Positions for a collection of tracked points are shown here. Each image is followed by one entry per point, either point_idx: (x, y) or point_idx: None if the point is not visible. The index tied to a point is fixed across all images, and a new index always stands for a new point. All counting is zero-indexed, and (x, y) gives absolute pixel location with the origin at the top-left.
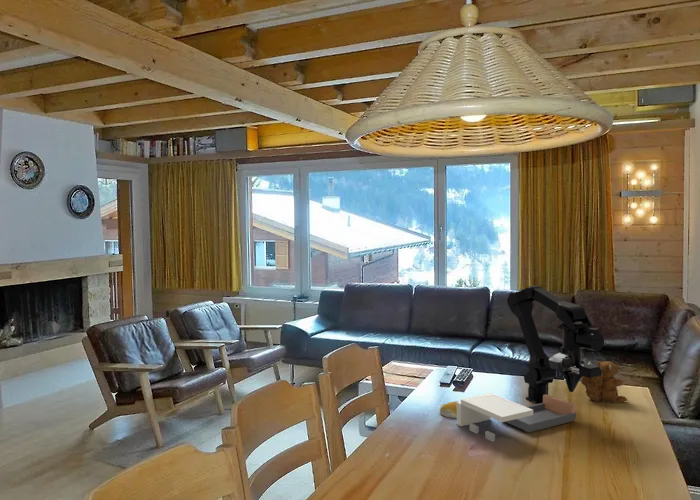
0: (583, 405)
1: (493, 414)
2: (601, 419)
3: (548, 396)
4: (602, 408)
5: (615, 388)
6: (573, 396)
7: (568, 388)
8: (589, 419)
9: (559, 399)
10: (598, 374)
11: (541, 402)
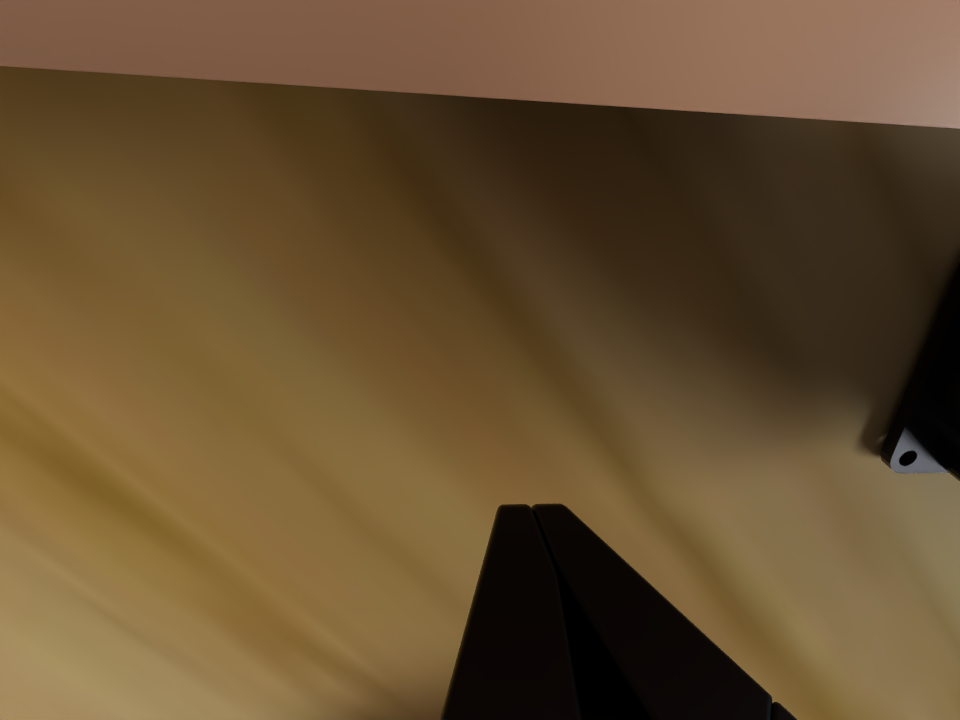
0: None
1: None
2: (92, 454)
3: (878, 19)
4: (380, 692)
5: None
6: None
7: (593, 541)
8: (156, 328)
9: (545, 60)
10: None
11: (957, 289)
